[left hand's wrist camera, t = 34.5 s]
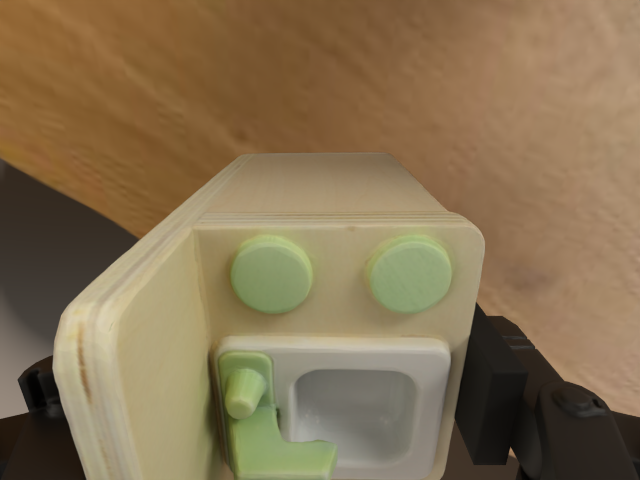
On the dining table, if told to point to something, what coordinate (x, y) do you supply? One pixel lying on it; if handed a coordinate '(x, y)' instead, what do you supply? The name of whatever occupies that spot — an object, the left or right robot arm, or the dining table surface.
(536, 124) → the dining table surface
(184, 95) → the dining table surface
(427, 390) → the wooden play sink
